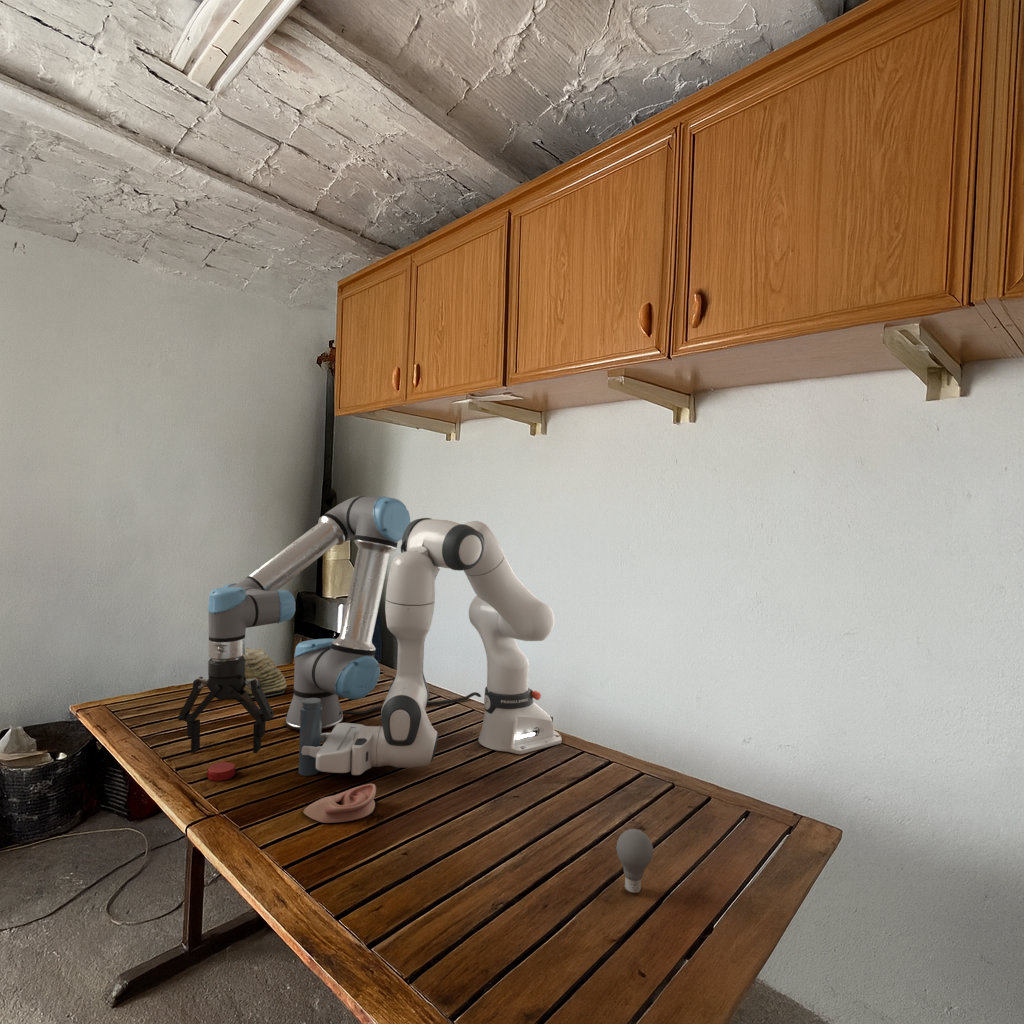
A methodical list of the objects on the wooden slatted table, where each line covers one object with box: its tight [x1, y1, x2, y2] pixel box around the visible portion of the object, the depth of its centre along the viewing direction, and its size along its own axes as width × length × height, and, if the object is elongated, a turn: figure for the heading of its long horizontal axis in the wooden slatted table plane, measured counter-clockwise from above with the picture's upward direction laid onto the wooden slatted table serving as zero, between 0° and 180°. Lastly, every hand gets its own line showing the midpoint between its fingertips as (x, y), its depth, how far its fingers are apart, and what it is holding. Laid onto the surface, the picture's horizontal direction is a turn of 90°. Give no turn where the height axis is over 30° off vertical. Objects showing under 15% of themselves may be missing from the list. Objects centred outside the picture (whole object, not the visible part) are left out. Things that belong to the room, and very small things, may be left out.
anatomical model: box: [302, 783, 377, 824], centre depth 128 cm, size 13×4×12 cm
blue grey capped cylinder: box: [297, 698, 322, 777], centre depth 146 cm, size 5×5×16 cm
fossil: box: [243, 646, 288, 699], centre depth 198 cm, size 9×18×15 cm, turn 132°
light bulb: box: [615, 828, 654, 894], centre depth 106 cm, size 6×6×10 cm
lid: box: [206, 761, 236, 782], centre depth 142 cm, size 6×6×2 cm
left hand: (226, 750), depth 142 cm, fingers open, 13 cm apart
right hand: (306, 744), depth 146 cm, fingers closed on blue grey capped cylinder, 5 cm apart
